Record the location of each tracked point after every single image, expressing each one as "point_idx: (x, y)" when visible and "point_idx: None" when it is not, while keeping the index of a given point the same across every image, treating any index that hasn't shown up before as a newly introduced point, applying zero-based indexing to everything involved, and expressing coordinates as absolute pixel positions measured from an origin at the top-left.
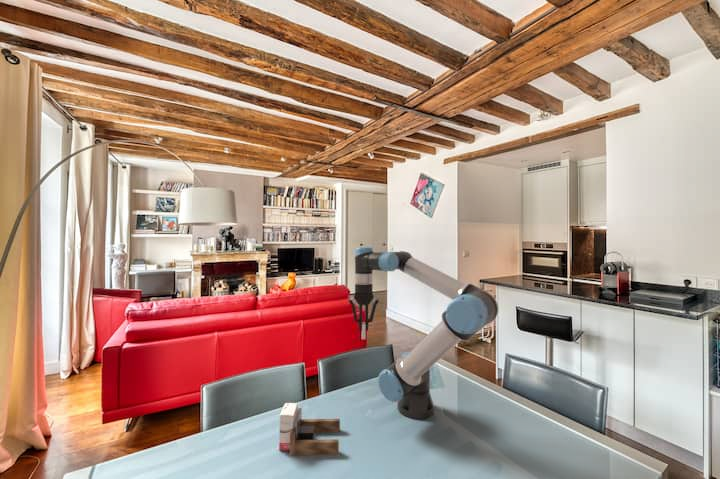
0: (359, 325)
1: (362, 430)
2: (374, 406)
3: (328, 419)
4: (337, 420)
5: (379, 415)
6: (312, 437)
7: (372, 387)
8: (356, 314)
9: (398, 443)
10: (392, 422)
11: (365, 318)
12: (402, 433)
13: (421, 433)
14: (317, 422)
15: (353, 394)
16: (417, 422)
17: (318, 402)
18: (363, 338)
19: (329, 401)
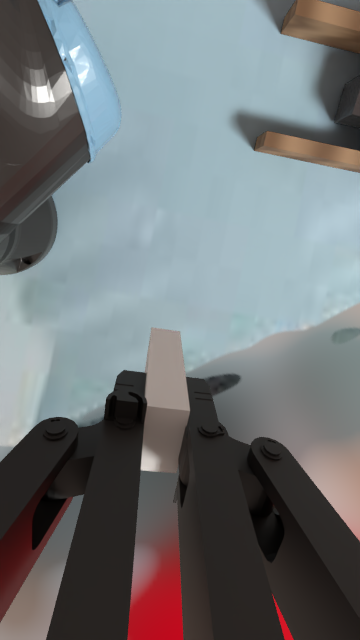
0: (213, 414)
1: (189, 129)
2: (127, 255)
3: (299, 149)
4: (273, 136)
5: (122, 202)
6: (358, 77)
7: (113, 361)
8: (300, 557)
9: (93, 27)
10: None
11: (139, 466)
12: None
13: None
14: (332, 146)
15: None
16: None
17: (284, 306)
18: (167, 332)
19: (253, 306)
